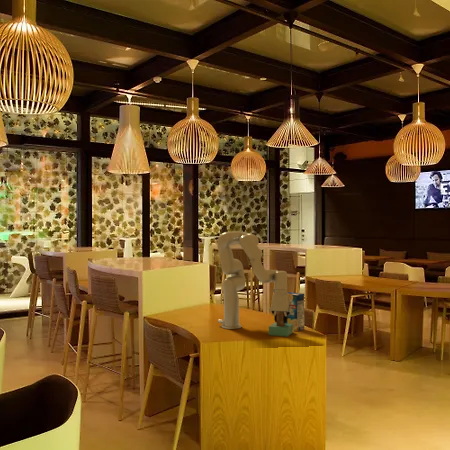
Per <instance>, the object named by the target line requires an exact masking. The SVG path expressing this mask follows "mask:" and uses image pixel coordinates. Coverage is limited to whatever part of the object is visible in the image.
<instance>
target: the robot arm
mask: <svg viewBox="0 0 450 450" xmlns="http://www.w3.org/2000/svg"><path fill="white" fill-rule="evenodd" d="M259 241H260V240H259V238H258V236H257V235H255V234H253V233H248V232H243V231H234V230H233V231H225V232H223V233H221V234H220V235H219V237H218V238H217V243H216V245H217V250H218V254H219V261H220V267H221V272H222V273H223V274H224V275H227V277H226V278H224V280H223V281H222V286H221V287H222V288H221V289H222V293H223V319H218V320H217V322H218V324H221V328H222V329H225V330H233V329H234V330H235V329H236V330H238V329H241V328H242V324H241V323H240V296H239V293H238V291H241V290H244V288H245V287H246V277H245V276H246V275H245V270H244V265H243V263H242V262H241V260H240V259H237V258H234V253H233V250H232V248H231V246H235V245H238V246H239V245H240V247H241V248H242V250H243V251H244V253H245V254H246V257H248V259H249V261H250V266H251V269H252V272H253V274H254V276H256V278H257V279H258V281H259V282H260V283H262V284H269V283H273V284H274V285H273V286H274V288H273V289H272V290H271V292H273V294H272V298H271V306H270V307H269V308H268V310H269V312H271V314H272V315H273V316H274V318H273V320H274V323H277V311H282V312H284V314H285V316H284V323H286V322H287V316H288V315H289V314H290V313H291V312H292V311H293V310H292V308H291V307H290V303H289V296H288V294H287V293H288V272H287V271H285V270H276V269H265V266H264V265H263V263H262V257H263V252H262V250H261V249H260V248H259V246H258V245H259ZM230 275H231V276H230ZM288 310H290V311H289V312H287V311H288Z"/></svg>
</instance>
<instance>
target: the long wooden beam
mask: <svg viewBox="0 0 450 450" xmlns="http://www.w3.org/2000/svg"><path fill="white" fill-rule="evenodd" d="M284 316H285V314H284V312H282V311H277V322H276V323H277V326H283V327H284V326H285V323H284Z"/></svg>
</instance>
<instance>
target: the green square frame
mask: <svg viewBox="0 0 450 450" xmlns="http://www.w3.org/2000/svg"><path fill="white" fill-rule="evenodd" d="M293 333H294V331H293V324H285V326H284V327H283V326H277V322H274V323H271V324H270V325H269V326H268V336H277V337H287V338H288V337H289V336H291V334H293Z"/></svg>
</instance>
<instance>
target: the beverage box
mask: <svg viewBox="0 0 450 450" xmlns="http://www.w3.org/2000/svg"><path fill="white" fill-rule="evenodd" d="M287 294H288V296H289V303H290V307H291V308H292V310H293V311H292V312H291V313H290V314H289V315H288V316H287V322H286V323H285V324H293V332H294V331H295V332H300V331H304V330H305V293H301V292H293V291H289V292H288V291H287ZM289 311H290V310H288V311H287V312H289Z"/></svg>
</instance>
